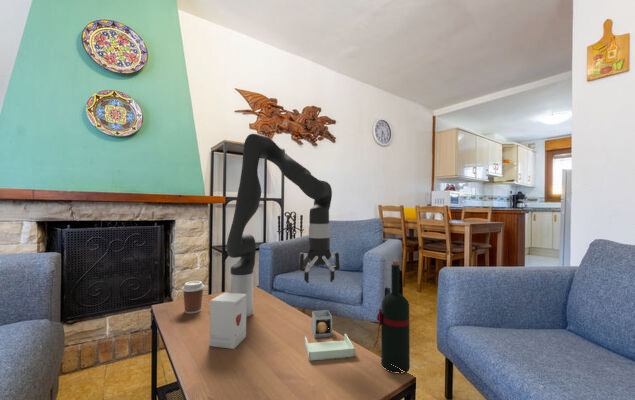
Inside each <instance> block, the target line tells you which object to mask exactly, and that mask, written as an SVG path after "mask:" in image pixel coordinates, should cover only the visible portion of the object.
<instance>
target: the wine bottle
mask: <svg viewBox="0 0 635 400" xmlns="http://www.w3.org/2000/svg"><path fill="white" fill-rule="evenodd" d="M399 262H400V261H399V260H398V259H396V260H395V259H394V260H393V259H392V264H391V265H390V266H391V276H390V277H391V283H390V284H391V285H390V286H391V287H390V288H391V292H389V293H387V294H386V295H385V296H384V297H383V299H382V301H381V308H378V313H377V314H376V319H377V322H378V328H377V329H378V330H377V337H376V341H375V342H374V344H373V348H375V347H376V346H377V344H378V341H379V340H378V339H379V333H380V332H379V331H380V326H381V340H380V341H381V346H380V347H381V350H380V351H381V352H380V353H381V354H380V355H381V357H380V362H381V363H380V365H381V364H382V365H381V366H383V367H384V368H386V369H387V370H389V371H392V372H399V373H401V372H403V371H405V372H406V373H408V372H409V370H410V367H411V365H410V362H411V361H410V359H411V357H410V355H411V354H410V349H411V348H410V303H409V301H408V299H407V298H406V297H405V296H404V295H403V294H402V293H400V264H399ZM381 358H382V359H381ZM391 364H392V365H391ZM393 365H394V366H393ZM395 366H396V367H395ZM383 367H382V368H383ZM397 367H398V368H397ZM384 368H383V369H384ZM399 368H400V369H401V370H403V371H401V370H400V369H399ZM387 370H386V371H387Z"/></svg>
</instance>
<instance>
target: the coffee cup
mask: <svg viewBox="0 0 635 400" xmlns="http://www.w3.org/2000/svg"><path fill="white" fill-rule="evenodd" d="M205 288H206V286H205V284H203V282H202V281H200V280H191V281H186V282H185V283H184V285H183V286H182V287H181V291H183V304H184V306H183V307H184V313H185V314H196V313H197V314H198V313H200V312H201V310H202V304H203V303H202V302H203V294H204V293H203V292H204V290H205Z"/></svg>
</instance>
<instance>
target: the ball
mask: <svg viewBox="0 0 635 400" xmlns="http://www.w3.org/2000/svg"><path fill="white" fill-rule="evenodd" d="M316 330H317V331H316V333H317V334H320V333H327V332H328V330H327V325H326V323H324V322H319V323H318V324H317V326H316Z"/></svg>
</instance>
